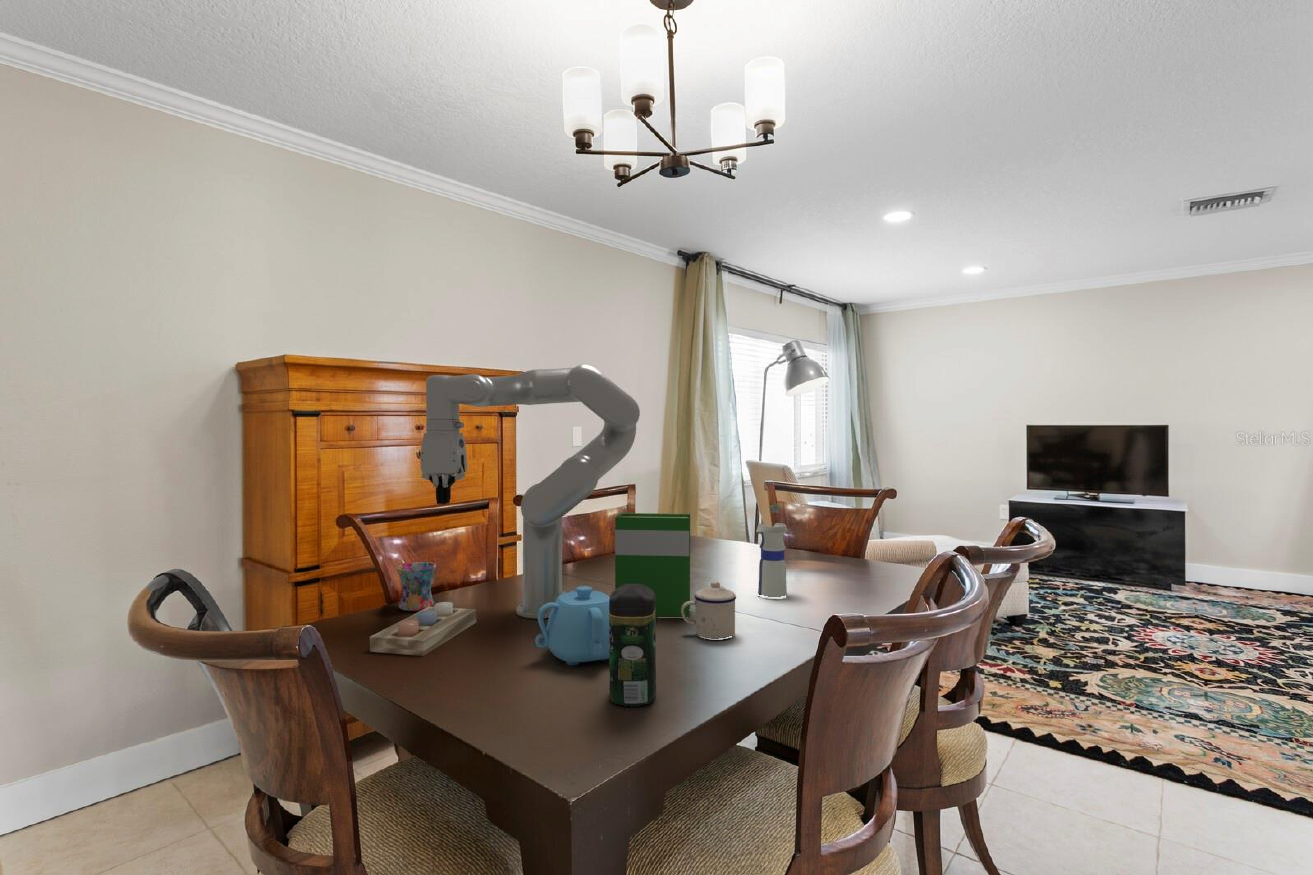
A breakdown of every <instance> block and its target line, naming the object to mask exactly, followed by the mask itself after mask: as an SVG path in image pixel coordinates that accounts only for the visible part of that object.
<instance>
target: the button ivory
mask: <svg viewBox="0 0 1313 875" xmlns="http://www.w3.org/2000/svg"><path fill="white" fill-rule="evenodd" d="M433 607H434V611H436V616H444V617H449V616H450V615H452V614H453V608H454V603H453V602H451V601H440V602H437V603H436V602H435V603H434V605H433Z"/></svg>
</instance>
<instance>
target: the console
mask: <svg viewBox="0 0 1313 875" xmlns="http://www.w3.org/2000/svg"><path fill="white" fill-rule="evenodd" d="M422 611H434V606H432V607H430V606H429V607H427V608H425V609H423V610H419V611H417V612H416V613H414V614H412V615H410V616H408V617H406V618H404V619H402V620H400V621H398V622H396V623H394V624H392V625H390V626H389V627H386V628H384V629H382V630H381V631H379V632H376V633H375V634H372V635H370V636H369V652H370V653H371V652H373V653H384V654H395V655H398V654H399V655H406V656H407V655H409V656H419V657H424V656H426V655H428V654H429V653H430V652H432V651H434V650H435V649H438V647H440V646H441V645H443V644H445V643H446V642H448V641H450V640H451V639H453V638H455V636H457V635H459V634H460V633H462V632H463V631H465V630H467V629H468V628H470V627H472V626H473V625H474V624H476V623H477V609H474V608H459V607H458V608H457V607H453V614H452V615H450V616H449V617H444V616H436V618H437V623H436V624H434V625H433V626H418V634H417V635H415V636H413V637H402V636H398V623H399V622H402V621H406V620H416V621H417V613H419V612H422Z"/></svg>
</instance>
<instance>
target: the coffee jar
mask: <svg viewBox="0 0 1313 875" xmlns="http://www.w3.org/2000/svg"><path fill="white" fill-rule="evenodd" d="M609 597H610V599H609V660H608V661H609V664H608V665H609V699H610V701H611V702H612V703H614V704H616V705H619V706H623V707H627V706H631V707H630V708H632V706H637V707H639V706H643V705H644V706H645V705H648V704H649V705H650V704H651V703H652V702H653V700H654V699H655V696H656V693H657V665H656V664H657V663H656V661H657V660H656V659H657V658H656V655H657V652H656V649H657V646H656V644H657V643H656V642H657V641H656V638H657V636H656V624H657V623H656V620H657V618H656V614H655V597H656V596H655V593H654V591H653V590H652V589H650V588H649V587H647V586H646V585H645V584H623V585H622V586H620V587H619V588H617V589H615V588H614V590H613V591H612V592H611V594H610V595H609Z"/></svg>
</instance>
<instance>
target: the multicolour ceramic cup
mask: <svg viewBox="0 0 1313 875" xmlns="http://www.w3.org/2000/svg"><path fill="white" fill-rule="evenodd" d="M436 567H437V564H436V563H434V562H429V561H427V562H426V561H421V562H418V561H417V562H408V563H407V562H406V563H404V564H400V565H398V566H396V571H397V574H398V576H399V579H400V582H401V598H400V601H399V603H398V609H401V610H402V611H405V612H420V611H422V610H423V609H425V608H427V607H429V606H430V607H434V605H435V604H436V602H435V600H434V598H433V596H432V590H431V589H432V586H431V585H432V584H433V582H434V581H435V580H434V579H435V576H436Z"/></svg>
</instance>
